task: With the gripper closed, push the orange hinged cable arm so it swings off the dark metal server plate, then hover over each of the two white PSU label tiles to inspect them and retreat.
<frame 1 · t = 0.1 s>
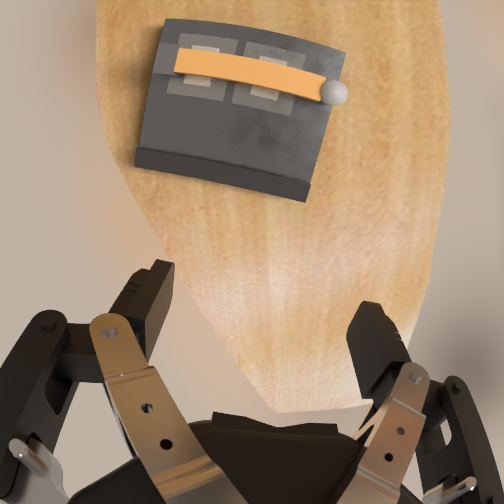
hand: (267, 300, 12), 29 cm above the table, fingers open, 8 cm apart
server plate: (237, 104, 34), on the table
cable arm: (250, 71, 27), point 6 cm above the table, hinge at 0.0°
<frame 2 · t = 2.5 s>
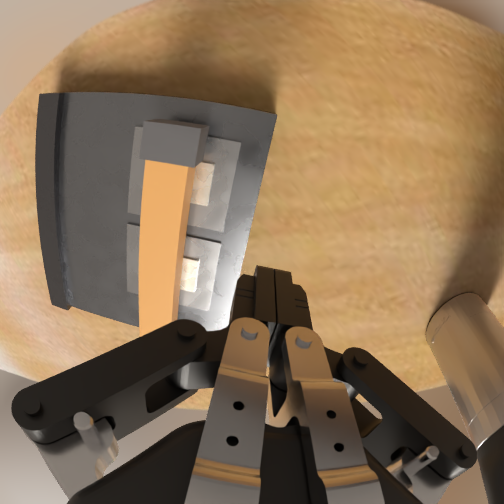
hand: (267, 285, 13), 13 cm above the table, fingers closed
server plate: (140, 215, 26), on the table
cable arm: (161, 264, 22), point 6 cm above the table, hinge at 0.0°
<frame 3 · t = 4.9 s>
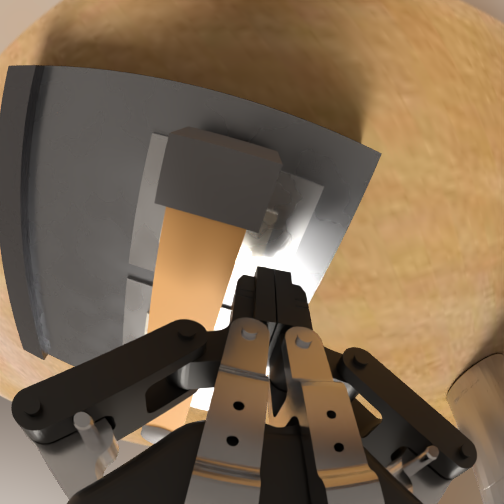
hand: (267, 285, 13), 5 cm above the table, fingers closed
server plate: (144, 257, 19), on the table
cable arm: (177, 349, 14), point 6 cm above the table, hinge at 1.3°, touching gripper
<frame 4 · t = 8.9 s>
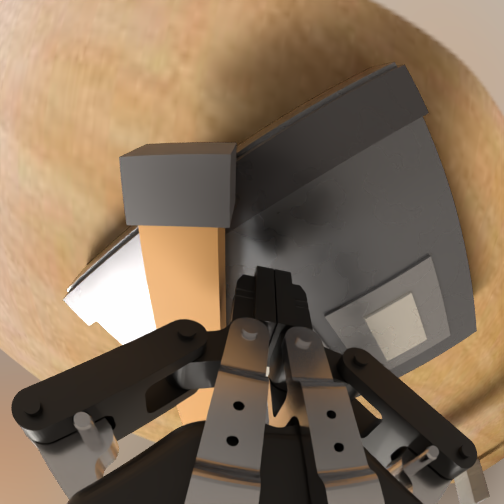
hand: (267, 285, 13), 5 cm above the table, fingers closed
server plate: (296, 295, 20), on the table
skincare box: (464, 465, 53), on the table
cable arm: (198, 358, 15), point 6 cm above the table, hinge at 53.3°, touching gripper
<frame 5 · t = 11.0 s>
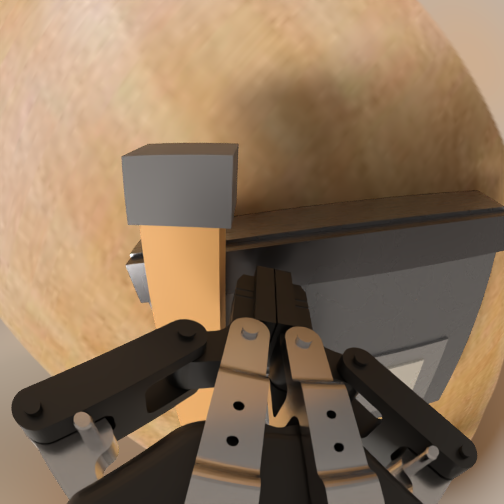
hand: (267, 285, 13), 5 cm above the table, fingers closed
server plate: (333, 331, 21), on the table
cable arm: (197, 359, 15), point 6 cm above the table, hinge at 78.1°, touching gripper
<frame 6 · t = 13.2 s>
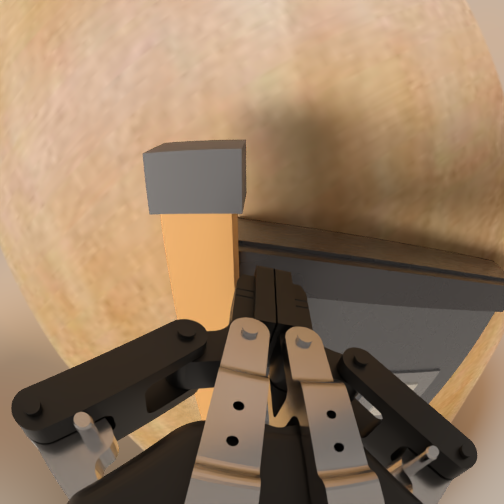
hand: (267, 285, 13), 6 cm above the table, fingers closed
server plate: (352, 345, 24), on the table
cable arm: (214, 342, 16), point 6 cm above the table, hinge at 97.6°
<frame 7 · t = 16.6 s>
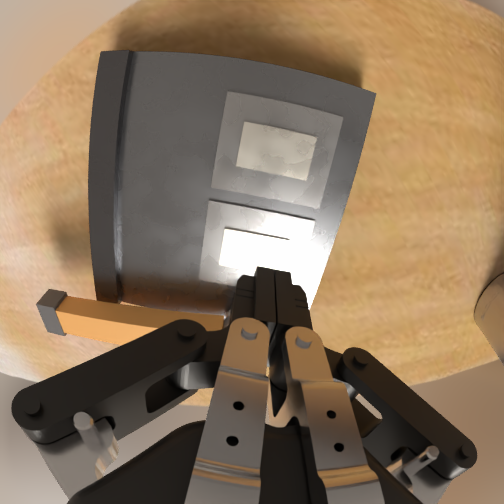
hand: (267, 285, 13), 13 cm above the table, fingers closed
server plate: (214, 193, 24), on the table
cable arm: (135, 326, 24), point 6 cm above the table, hinge at 97.6°
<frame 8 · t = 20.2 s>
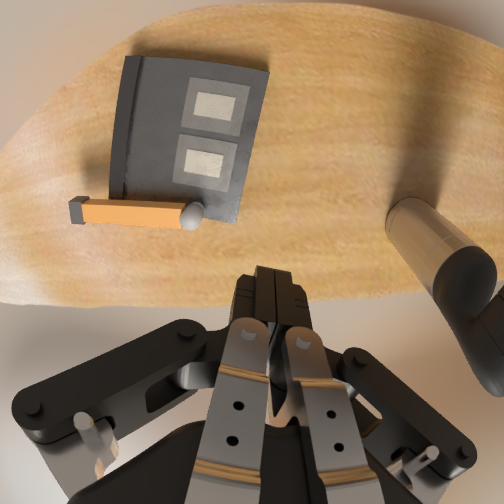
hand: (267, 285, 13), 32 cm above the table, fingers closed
server plate: (184, 134, 40), on the table
cable arm: (131, 212, 40), point 6 cm above the table, hinge at 97.6°
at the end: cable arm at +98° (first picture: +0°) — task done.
